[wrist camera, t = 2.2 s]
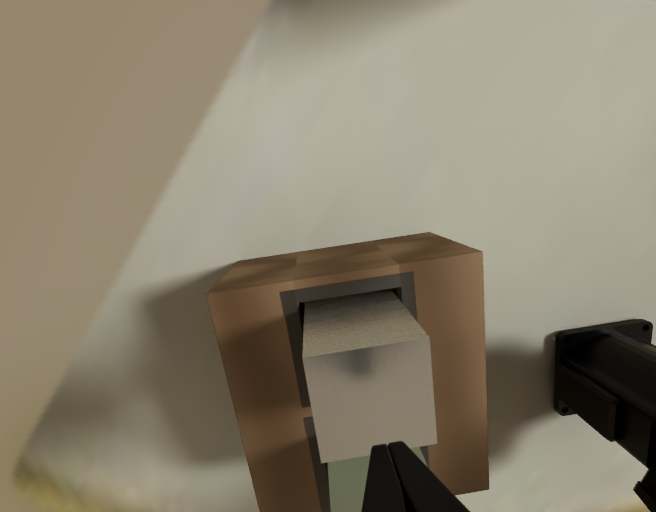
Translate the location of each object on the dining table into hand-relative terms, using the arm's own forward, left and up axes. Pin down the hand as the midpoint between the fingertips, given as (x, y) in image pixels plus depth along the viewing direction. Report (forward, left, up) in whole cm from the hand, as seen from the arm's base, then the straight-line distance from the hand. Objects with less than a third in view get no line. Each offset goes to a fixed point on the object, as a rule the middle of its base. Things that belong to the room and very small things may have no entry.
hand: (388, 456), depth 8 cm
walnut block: (0, +3, -12) cm, 12 cm away
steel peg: (0, 0, -8) cm, 8 cm away
